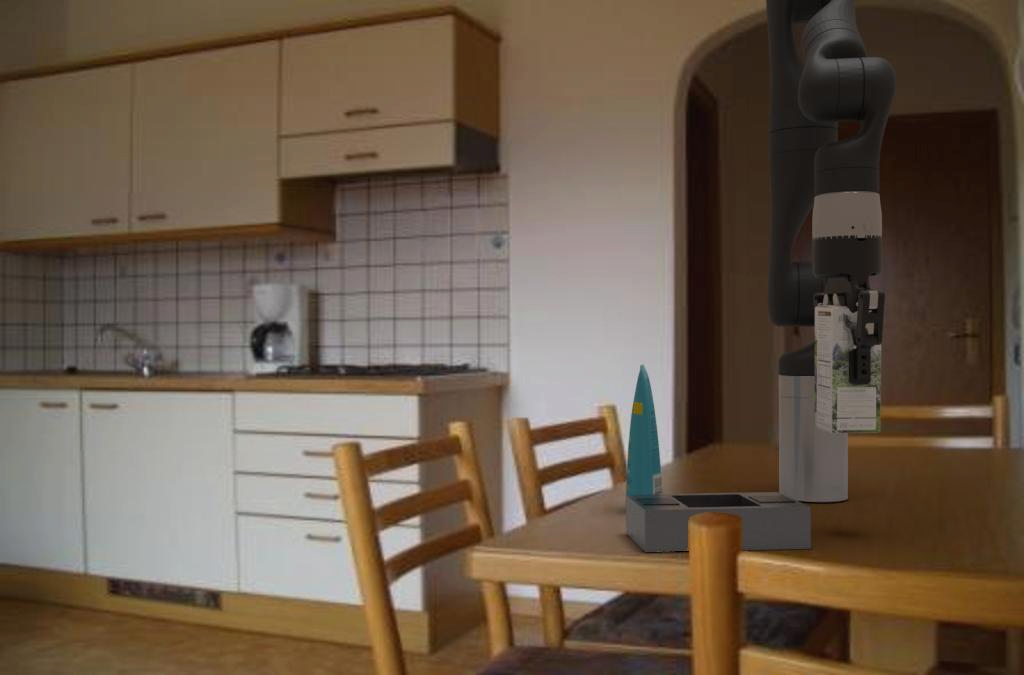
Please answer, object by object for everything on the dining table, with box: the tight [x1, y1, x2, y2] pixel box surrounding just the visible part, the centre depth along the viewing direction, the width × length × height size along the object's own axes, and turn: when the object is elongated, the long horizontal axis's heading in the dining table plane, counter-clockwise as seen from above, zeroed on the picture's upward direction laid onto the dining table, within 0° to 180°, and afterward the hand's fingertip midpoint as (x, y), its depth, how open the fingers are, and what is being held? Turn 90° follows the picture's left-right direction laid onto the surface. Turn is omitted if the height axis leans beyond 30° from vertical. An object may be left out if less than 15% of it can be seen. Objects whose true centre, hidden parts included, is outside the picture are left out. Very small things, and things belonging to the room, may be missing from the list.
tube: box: [625, 363, 663, 496], centre depth 127 cm, size 7×5×19 cm, turn 175°
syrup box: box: [814, 305, 882, 434], centre depth 111 cm, size 6×6×14 cm
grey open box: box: [625, 491, 812, 553], centre depth 108 cm, size 10×18×5 cm, turn 95°
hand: (847, 381), depth 111 cm, fingers closed on syrup box, 6 cm apart
